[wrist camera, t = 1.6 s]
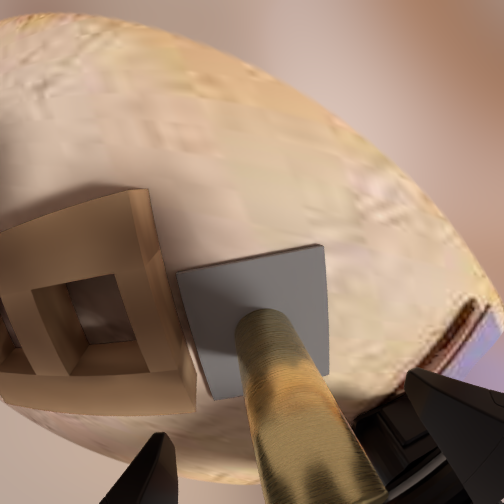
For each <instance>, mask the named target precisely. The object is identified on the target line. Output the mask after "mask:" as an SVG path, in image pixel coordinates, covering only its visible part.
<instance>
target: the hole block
mask: <svg viewBox="0 0 504 504" xmlns="http://www.w3.org/2000/svg"><path fill="white" fill-rule="evenodd" d="M113 273H114V275H115V278H116V282H117V285H118V288H119V291H120V295H121V298H122V301H123V304H124V307H125V310H126V313H127V315H128V318H129V321H130V324H131V327H132V329H133V332H134V334H135V337H136V340H134V341H125V342H115V343H105V344H94V345H89V343H88V341H87V339H86V336H85V334H84V332H83V329H82V327H81V325H80V322H79V320H78V317H77V314H76V312H75V309H74V307H73V304H72V301H71V298H70V295H69V292H68V289H67V286H66V283H67V282H72V281H78V280H83V279H88V278H93V277H98V276H103V275H108V274H113ZM0 297H1V300H2V302H3V305H4V308H5V310H6V313H7V315H8V318H9V320H10V323H11V325H12V327H13V330H14V332H15V334H16V336H17V339H18V341H19V343H20V345H21V347H22V348H15V346H14V344H13V342H12V340H11V338H10V336H9V333H8V331H7V329H6V327H5V324H4V322H3V319H2V317H1V315H0V395H1V397H2V398H3V400H4V401H5V403H7V404H11V405H16V406H21V407H26V408H32V409H38V410H44V411H52V412H60V413H69V414H81V415H98V416H151V415H169V414H181V413H192V412H196V383H197V373H196V370H195V368H194V365H193V362H192V359H191V356H190V353H189V350H188V347H187V344H186V341H185V338H184V334H183V331H182V328H181V325H180V321H179V318H178V315H177V311H176V308H175V304H174V301H173V297H172V294H171V290H170V286H169V282H168V279H167V275H166V271H165V267H164V263H163V258H162V254H161V250H160V246H159V241H158V237H157V232H156V227H155V223H154V218H153V213H152V207H151V202H150V197H149V191H148V189H136V190H126V191H122V192H118V193H115V194H111V195H108V196H104V197H100V198H97V199H94V200H90V201H87V202H84V203H80V204H77V205H74V206H71V207H68V208H65V209H62V210H59V211H56V212H53V213H50V214H47V215H44V216H42V217H39V218H36V219H33V220H31V221H28V222H25V223H23V224H20V225H18V226H15V227H13V228H10V229H8V230H5V231H3V232H1V233H0Z"/></svg>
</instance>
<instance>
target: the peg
mask: <svg viewBox="0 0 504 504" xmlns="http://www.w3.org/2000/svg"><path fill="white" fill-rule="evenodd" d="M234 339H235V346H236V352H237V358H238V364H239V370H240V376H241V382H242V388H243V394H244V399H245V405H246V410H247V416H248V421H249V427H250V432H251V437H252V442H253V447H254V452H255V457H256V462H257V467H258V472H259V477H260V482H261V486H262V491H263V495H264V500H265V504H382V503H383V502H384V501H385V500H386V499H387V498H388V496H389V493H388V492H387V490H386V488H385V486H384V485H383V483H382V481H381V479H380V478H379V476H378V474H377V472H376V471H375V469H374V467H373V465H372V464H371V462H370V460H369V458H368V457H367V455H366V453H365V451H364V450H363V448H362V446H361V444H360V443H359V441H358V439H357V437H356V436H355V434H354V432H353V430H352V429H351V427H350V425H349V423H348V422H347V420H346V418H345V416H344V415H343V413H342V411H341V409H340V408H339V406H338V404H337V402H336V401H335V399H334V397H333V395H332V394H331V392H330V390H329V388H328V387H327V385H326V383H325V381H324V380H323V378H322V376H321V374H320V373H319V371H318V369H317V367H316V366H315V364H314V362H313V360H312V359H311V357H310V355H309V353H308V351H307V350H306V348H305V346H304V344H303V343H302V341H301V339H300V337H299V336H298V334H297V332H296V330H295V329H294V327H293V325H292V323H291V322H290V320H289V318H288V317H287V316H286V315H285V314H283V313H282V312H280V311H278V310H275V309H259V310H255V311H253V312H251V313H249V314H247V315H246V316H244V317H243V318H242V319H241V320H240V322H239V323H238V324H237V327H236V329H235V333H234Z"/></svg>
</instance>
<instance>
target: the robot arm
mask: <svg viewBox="0 0 504 504" xmlns="http://www.w3.org/2000/svg"><path fill="white" fill-rule="evenodd" d="M404 390H405V392H406V395H404V396H402V397H400V398H398V399H396V400H394V401H392V402H389V403H387V404H385V405H383V406H381V407H378V408H376V409H374V410H371V411H369V412H366V413H364V414H361V415H359V416H358V417H356V418H355V420H354V425H353V432H354V434H355V436H356V437H357V439H358V441H359V443H360V444H361V446H362V448H363V450H364V451H365V453H366V455H367V457H368V458H369V460H370V462H371V464H372V465H373V467H374V469H375V471H376V472H377V474H378V476H379V478H380V479H381V481H382V483H383V485H384V486H385V488H386V490H387V492H388V493H389V496H388V498H387V499H386V500H385V501H384V502H383V503H382V504H504V503H502V501H501V500H502V499H503V498H504V393H501V392H497V391H494V390H488V389H486V388H483V387H479V386H475V385H472V384H469V383H465V382H462V381H459V380H456V379H452V378H449V377H446V376H443V375H440V374H437V373H434V372H431V371H427V370H424V369H421V368H418V367H415V368H413V369H411V370H409V371H408V372H407V375H406V379H405V383H404ZM99 504H178V476H177V466H176V455H175V447H174V445H173V443H172V441H171V440H170V438H169V437H168V435H167V434H166V433H165V432H156V433H154V434H153V435H152V436H151V438H150V439H149V440H148V442H147V443H146V444H145V445H144V447H143V448H142V449H141V451H140V452H139V453H138V455H137V456H136V457H135V459H134V460H133V461H132V462H131V464H130V465H129V466H128V468H127V469H126V470H125V472H124V473H123V474H122V475H121V477H120V478H119V479H118V480H117V482H116V483H115V484H114V486H113V487H112V488H111V489H110V491H109V492H108V493H107V494H106V497H104V498H103V499H102V500H101V502H100V503H99Z"/></svg>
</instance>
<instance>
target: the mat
mask: <svg viewBox="0 0 504 504" xmlns="http://www.w3.org/2000/svg"><path fill="white" fill-rule="evenodd" d="M176 277H177V281H178V285H179V289H180V293H181V297H182V301H183V304H184V308H185V311H186V315H187V319H188V322H189V325H190V329H191V332H192V336H193V339H194V342H195V345H196V349H197V352H198V355H199V358H200V361H201V364H202V367H203V370H204V373H205V376H206V379H207V382H208V385H209V388H210V391H211V393H212V396H213V399H214V400H221V399H227V398H233V397H239V396H244V394H243V388H242V382H241V376H240V370H239V364H238V358H237V352H236V346H235V339H234V333H235V329H236V327H237V324H238V323H239V322H240V320H241V319H242V318H243V317H244V316H246V315H247V314H249V313H251V312H253V311H255V310H259V309H275V310H278V311H280V312H282V313H283V314H285V315H286V316H287V317H288V318H289V320H290V322H291V323H292V325H293V327H294V329H295V330H296V332H297V334H298V336H299V337H300V339H301V341H302V343H303V344H304V346H305V348H306V350H307V351H308V353H309V355H310V357H311V359H312V360H313V362H314V364H315V366H316V367H317V369H318V371H319V373H320V374H321V376H326V375H329V322H328V298H327V281H326V266H325V254H324V246H323V245H318V246H313V247H307V248H302V249H297V250H292V251H287V252H281V253H276V254H271V255H266V256H261V257H255V258H250V259H245V260H240V261H234V262H229V263H224V264H218V265H213V266H208V267H202V268H197V269H192V270H186V271H181V272H176Z"/></svg>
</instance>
